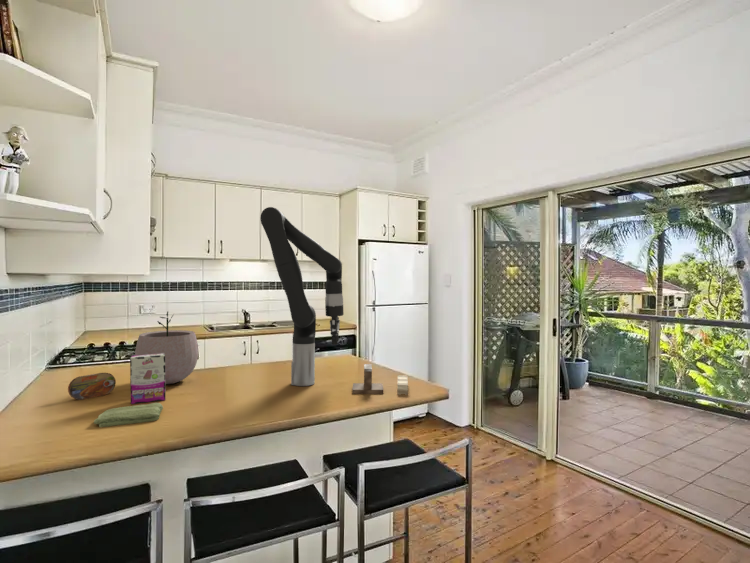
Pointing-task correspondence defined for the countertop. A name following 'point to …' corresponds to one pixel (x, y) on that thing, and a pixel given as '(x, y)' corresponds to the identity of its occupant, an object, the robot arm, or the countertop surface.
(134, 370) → the candy bar box
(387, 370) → the countertop surface
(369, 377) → the balance stand
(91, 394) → the tin
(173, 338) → the plant pot
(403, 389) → the pale gold metallic bar
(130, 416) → the washcloth
